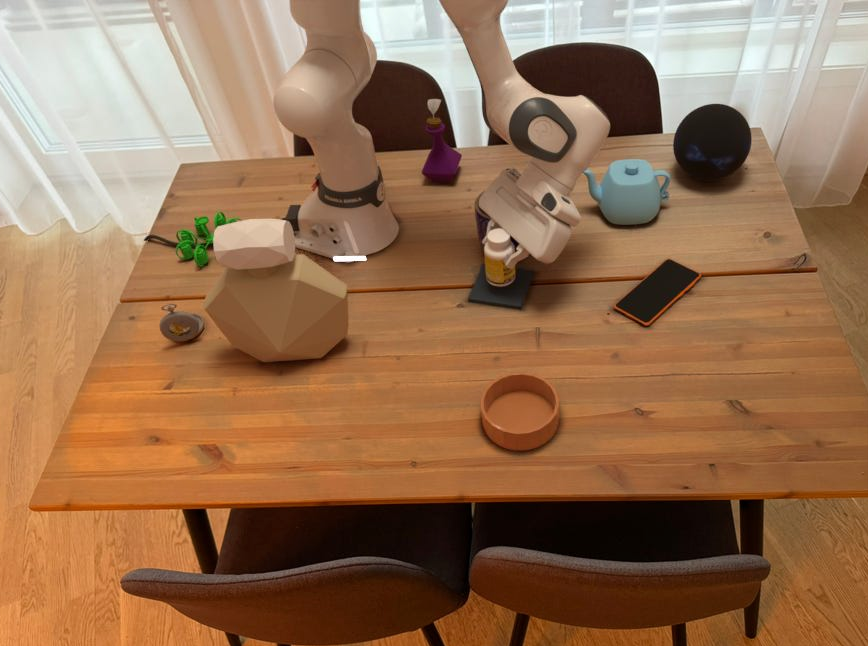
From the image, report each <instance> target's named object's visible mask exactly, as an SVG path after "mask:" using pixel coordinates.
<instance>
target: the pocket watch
mask: <svg viewBox="0 0 868 646" xmlns="http://www.w3.org/2000/svg"><path fill="white" fill-rule="evenodd" d="M177 306H178V305H177V304H176V303H168V304H165V305H163V306H161V310H162V311H167V312H169V313H167V314H165V315H164V316H163V317H162V318H161V319H160V322H159V330H160V333H161V334H162V336H163V337H165V338H166V339H167V340H170V341H173V342H185V341H190V340H192V339H194V338H195V337H197V336H198V335H199V334H200V333H201V332H203V331H202V330H203V329H204V327H205V320H204V319H203V317H202V316H201V315H200V314H196V313H191V312H188V311H184V310H182V311H181V310H179V311H177V310H176V311H174V310H175V309H176V308H177ZM165 307H167V308H165Z"/></svg>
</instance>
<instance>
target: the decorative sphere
mask: <svg viewBox="0 0 868 646" xmlns="http://www.w3.org/2000/svg"><path fill="white" fill-rule="evenodd" d="M752 140H753V138H752V130H751V126H750V124H749V122H748V120H747V119H746V117H745V116H744V115H743V114H742V113H741V112H740V111H739V110H737V109H736V108H735V107H732V106H730V105H728V104H723V103H709V104H705V105H702V106H699V107H697V108H695V109H693V110H691V111H690V112H689V113H688V114H686V115H685V116H684V118H683V119H682V120H681V121H680V123H679V125H678V126H677V128H676V130H675V133H674V136H673V141H672V142H673V144H672V149H673V156H674V158H675V161H676V162H677V165H678V166H679V168H680V169H681V170H682V172H684V173H685V174H686V175H687V176H689V177H690V178H693V179H695V180H699V181H702V182H715V181H720V180H724V179H727V178H728V177H730V176H731V175H733V174H735V173H736V172H737V171H738V170H739V169H740V168H741V167H742V166H743V164H745V162H746V160H747V158H748V156H749V154H750V151H751V147H752V142H753V141H752Z"/></svg>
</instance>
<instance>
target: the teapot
mask: <svg viewBox="0 0 868 646" xmlns="http://www.w3.org/2000/svg"><path fill="white" fill-rule="evenodd" d="M582 174H584V175H585V176H586V179H587V185H588V187H587V188H588V192H589V195H590V197H591V199H592V200H594V201H595V202H596V203H597V204H598V206H599V209H600V211H601V213H602V215H603V216H604V217H605V219H606V220H607V221H608V222H609V223H611V224H613V225H621V226H624V225H626V226H627V225H631V226H632V225H642V224H647V223H649V222H651V221H653V219H654V218H655V217H656V216H657V215H658V213H659V211H660V209H661V203H665V202H667V201H669V199H670V192H668V191H667V189H668V187H669V185H670V183H671V175H670V173H669V172H668V171H667V170H664V169H656V170H654V169H653V166H652V165H651V163H650V162H648V161H647V160H645V159H642V158H627V159H618V160H614V161H613V162H611V164H610V165H609V167H608V168H607V170H606V172H605V173H604V176H603V178H602V180H601V183H600V185H599V184H598V183H596V176H595V173H593V171H592V170H591V169H589V168H588V169H587V170H585V171H584V172H583V173H582ZM657 177H664V178H665V179H664V182H663V184H662V185H661V186H660V183H659V181H658V178H657Z"/></svg>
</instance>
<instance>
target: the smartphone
mask: <svg viewBox="0 0 868 646" xmlns="http://www.w3.org/2000/svg"><path fill="white" fill-rule="evenodd" d="M701 278H702V274H701V273H699V272H698V271H696V270H694V269H691V268H690V267H687V266H686V265H684V264H682V263H679V262H678V261H675V260H674V259H671V258H666V259H665V260H664V261H663V262H661V263H660V264H659V265H658V266H656V267H655V268H654V269H653V271H651V272H650V273H649V274H647V276H645V277H644V278H643V279H642V280H641V281H640V282H639V283H637V284H636V285H635V286H634V287H633V288H631V289H630V290H629V291H628V292H627V293H626V294H625V295H624V296H623V297H622V298H620V299H619V300H618V301H617V302H615V303H614V305H613V309H614V310H616V311H618V312H619V313H621V314H622V315H624V316H626V317H628V318H630V319H631V320H634V321H635V322H637V323H639V324H641V325H643V326H645V327H647V326H650V325H651V324H652V323H653V322H654V321H655V320H656V319H658V317H660V316H661V315H662V314H663V313H664V312H665V311H666V310H667V309H668V308H669V307H670V306H672V305H673V304H674V303H675V302H676V301H677V300H678V299H679V298H680V299H681V297H682V296H683V295H684V294H685V292H687V291H688V290H690V289H691V288H692V287H693V286H694V285H695V284H696V282H698V280H700V279H701Z"/></svg>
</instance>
